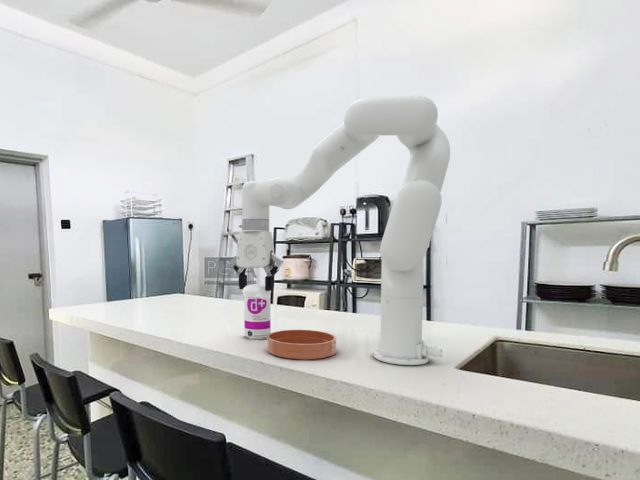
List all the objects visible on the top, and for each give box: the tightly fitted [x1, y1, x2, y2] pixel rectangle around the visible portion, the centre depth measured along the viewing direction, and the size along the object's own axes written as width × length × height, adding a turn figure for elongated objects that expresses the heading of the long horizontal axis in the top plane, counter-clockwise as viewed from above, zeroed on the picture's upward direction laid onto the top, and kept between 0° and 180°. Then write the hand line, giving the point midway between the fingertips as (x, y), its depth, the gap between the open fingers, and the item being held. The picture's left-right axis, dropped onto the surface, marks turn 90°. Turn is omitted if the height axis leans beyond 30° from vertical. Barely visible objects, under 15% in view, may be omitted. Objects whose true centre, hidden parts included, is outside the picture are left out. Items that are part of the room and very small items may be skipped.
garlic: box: [241, 283, 272, 300], centre depth 110 cm, size 8×7×4 cm
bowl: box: [266, 329, 337, 361], centre depth 105 cm, size 18×18×4 cm
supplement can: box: [243, 293, 272, 340], centre depth 123 cm, size 8×8×15 cm
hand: (255, 289), depth 110 cm, fingers closed on garlic, 7 cm apart
